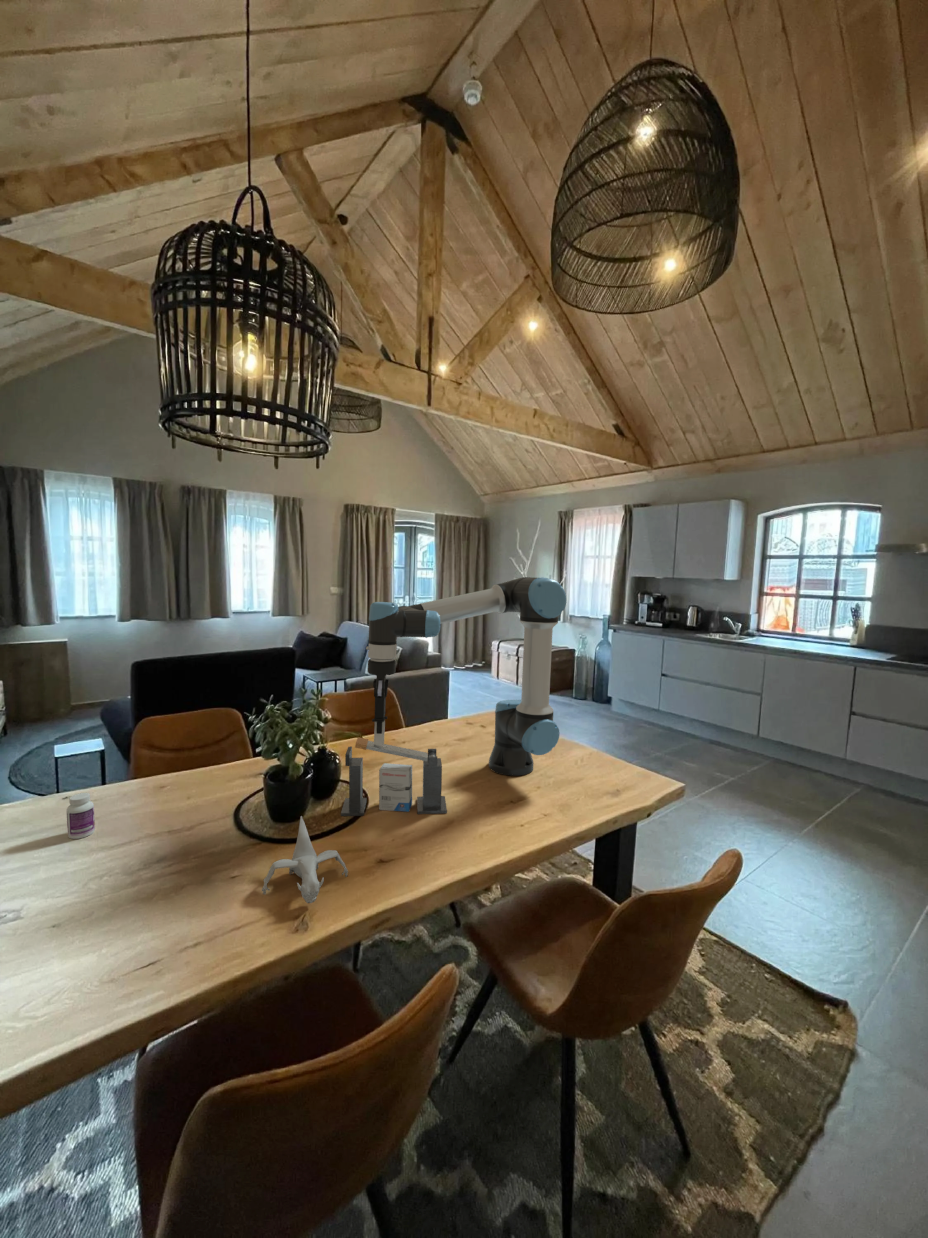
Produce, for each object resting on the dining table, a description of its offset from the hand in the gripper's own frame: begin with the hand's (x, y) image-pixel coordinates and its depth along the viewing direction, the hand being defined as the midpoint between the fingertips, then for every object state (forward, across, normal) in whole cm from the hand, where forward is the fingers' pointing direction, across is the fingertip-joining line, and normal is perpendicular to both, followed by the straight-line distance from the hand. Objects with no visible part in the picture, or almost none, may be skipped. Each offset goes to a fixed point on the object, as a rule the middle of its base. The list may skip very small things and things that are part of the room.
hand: (379, 743), depth 139 cm
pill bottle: (+21, +10, -71) cm, 74 cm away
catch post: (+19, 0, -6) cm, 19 cm away
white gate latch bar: (+3, 0, +5) cm, 5 cm away
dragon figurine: (+19, +33, -12) cm, 40 cm away
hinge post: (+18, 0, +15) cm, 24 cm away
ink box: (+19, 0, +5) cm, 19 cm away
